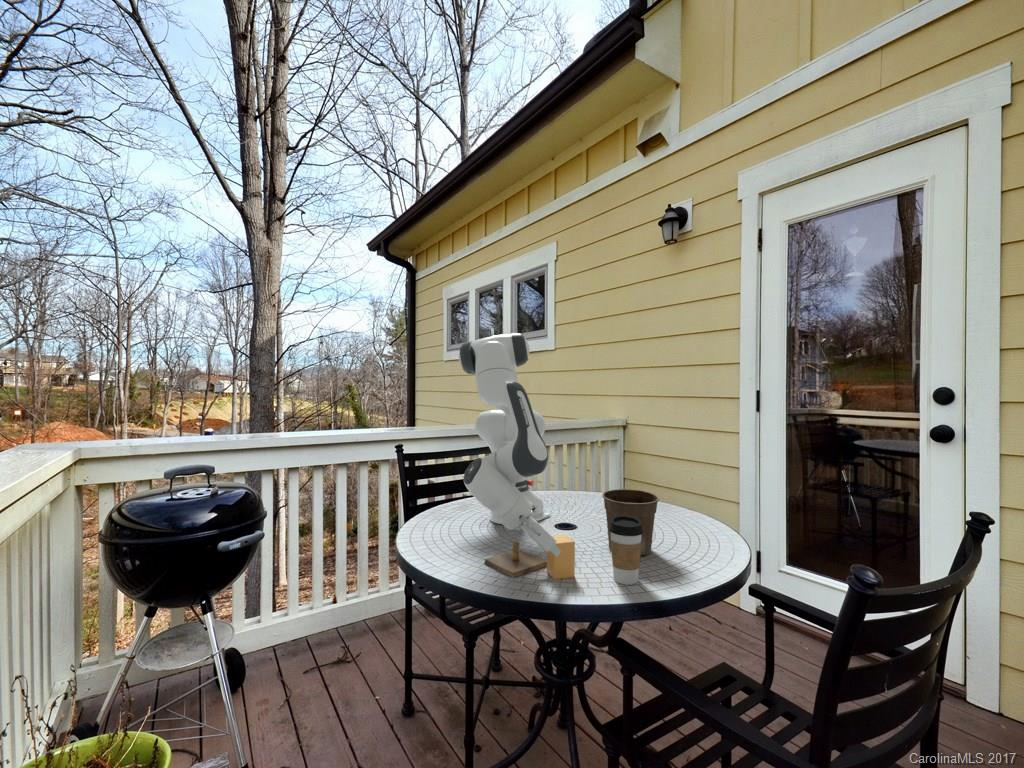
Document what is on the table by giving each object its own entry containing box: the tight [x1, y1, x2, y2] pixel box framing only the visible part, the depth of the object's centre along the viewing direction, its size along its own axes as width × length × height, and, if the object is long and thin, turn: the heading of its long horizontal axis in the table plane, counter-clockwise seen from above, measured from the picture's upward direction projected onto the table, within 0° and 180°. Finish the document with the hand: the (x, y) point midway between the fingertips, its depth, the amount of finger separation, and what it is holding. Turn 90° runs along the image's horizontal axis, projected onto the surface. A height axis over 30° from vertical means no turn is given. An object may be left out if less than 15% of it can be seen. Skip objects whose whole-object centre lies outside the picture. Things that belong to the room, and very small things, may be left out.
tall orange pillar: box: [546, 534, 576, 580], centre depth 123 cm, size 6×6×9 cm
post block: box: [484, 540, 547, 578], centre depth 130 cm, size 12×12×6 cm
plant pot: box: [602, 488, 660, 557], centre depth 141 cm, size 16×16×16 cm
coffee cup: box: [609, 516, 643, 586], centre depth 120 cm, size 8×8×15 cm
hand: (551, 546), depth 123 cm, fingers open, 8 cm apart
